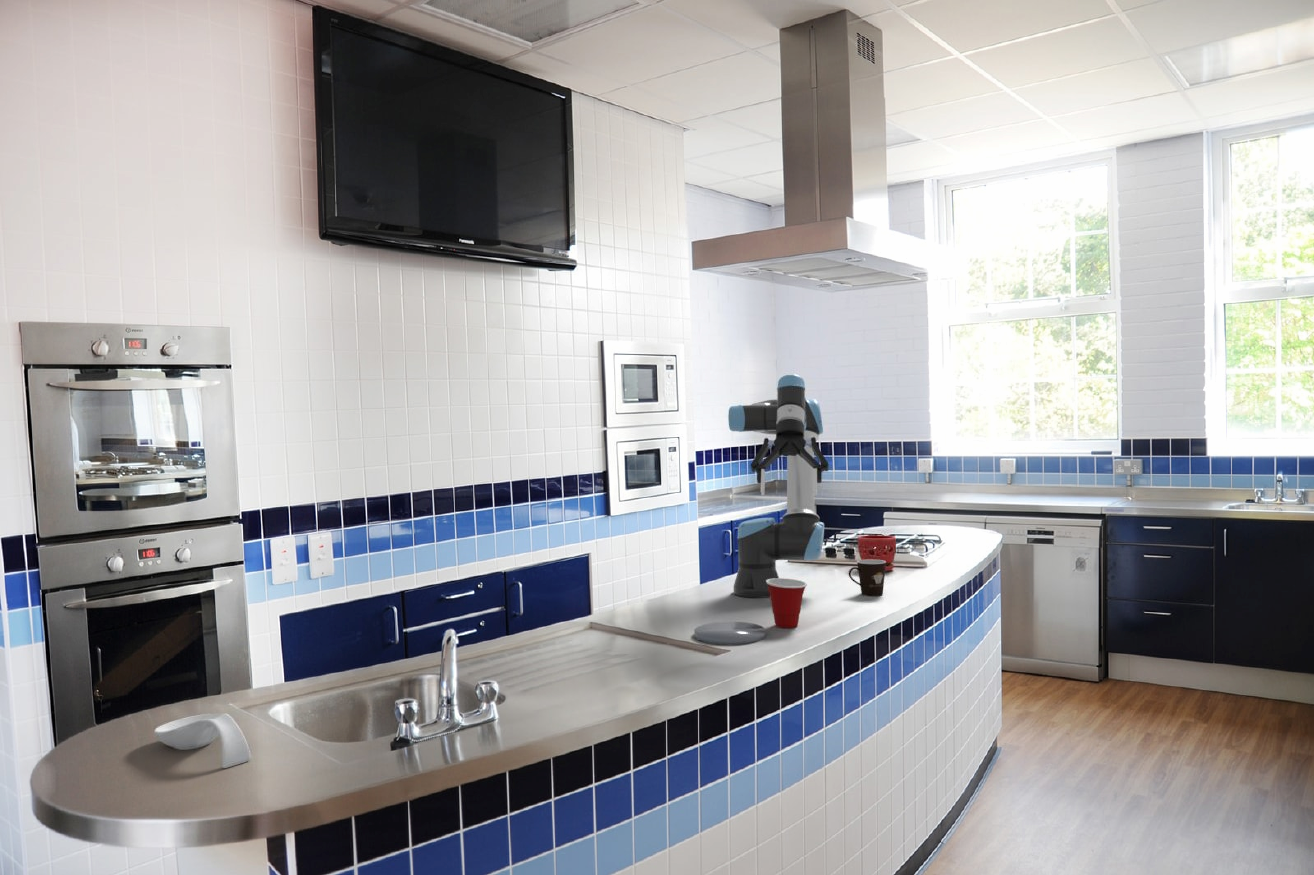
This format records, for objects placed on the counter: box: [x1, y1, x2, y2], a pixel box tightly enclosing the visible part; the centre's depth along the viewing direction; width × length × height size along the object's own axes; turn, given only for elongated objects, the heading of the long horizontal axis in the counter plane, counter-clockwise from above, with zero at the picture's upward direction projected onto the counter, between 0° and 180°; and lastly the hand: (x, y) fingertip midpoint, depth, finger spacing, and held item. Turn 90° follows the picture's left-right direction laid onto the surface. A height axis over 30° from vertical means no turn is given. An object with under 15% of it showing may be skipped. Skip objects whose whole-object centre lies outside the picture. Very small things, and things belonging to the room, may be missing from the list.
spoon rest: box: [153, 712, 252, 769], centre depth 157 cm, size 24×12×7 cm, turn 51°
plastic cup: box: [766, 577, 808, 629], centre depth 237 cm, size 11×11×12 cm
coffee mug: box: [848, 559, 886, 597], centre depth 276 cm, size 12×9×10 cm
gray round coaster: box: [693, 621, 766, 645], centre depth 228 cm, size 18×18×2 cm
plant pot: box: [857, 534, 897, 572], centre depth 317 cm, size 13×13×12 cm
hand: (788, 493), depth 231 cm, fingers open, 13 cm apart
